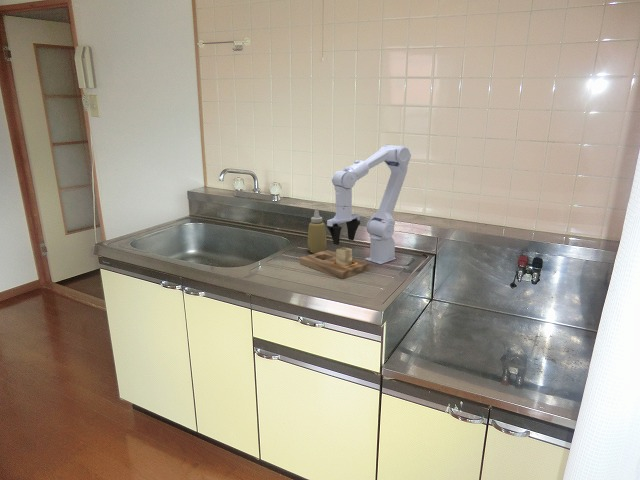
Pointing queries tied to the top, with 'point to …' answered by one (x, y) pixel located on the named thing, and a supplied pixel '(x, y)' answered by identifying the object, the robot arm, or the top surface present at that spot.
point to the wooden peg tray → (333, 264)
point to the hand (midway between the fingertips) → (343, 242)
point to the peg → (344, 256)
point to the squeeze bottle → (317, 234)
